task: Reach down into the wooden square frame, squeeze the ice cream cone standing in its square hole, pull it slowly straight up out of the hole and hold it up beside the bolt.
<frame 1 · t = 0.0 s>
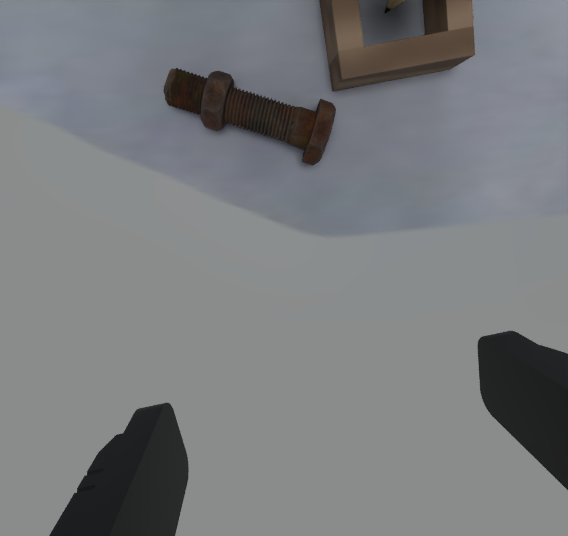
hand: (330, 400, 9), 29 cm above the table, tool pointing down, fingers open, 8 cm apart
bolt: (250, 115, 35), on the table
wooden square frame: (384, 11, 33), on the table
ice cream cone: (383, 12, 34), resting in wooden square frame
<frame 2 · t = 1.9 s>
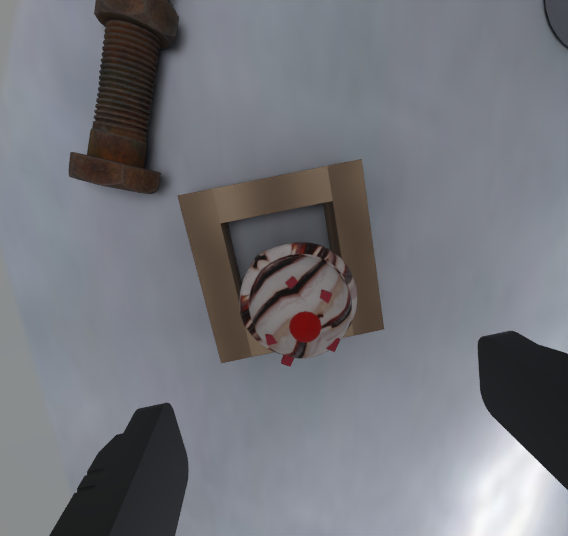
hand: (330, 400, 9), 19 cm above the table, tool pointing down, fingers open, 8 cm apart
bolt: (144, 79, 25), on the table
wooden square frame: (283, 255, 28), on the table
ice cream cone: (283, 254, 28), resting in wooden square frame
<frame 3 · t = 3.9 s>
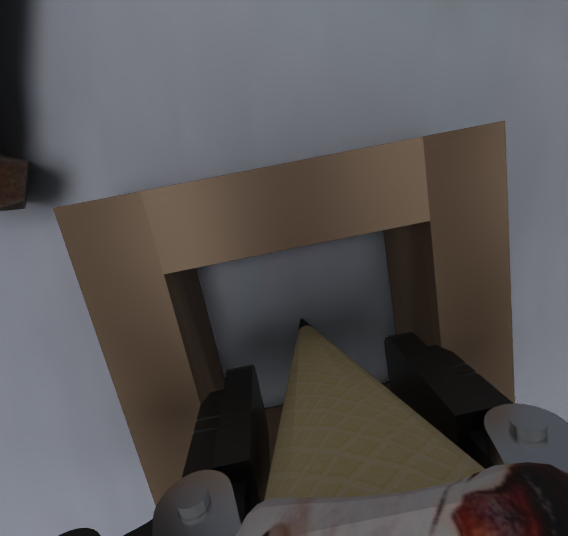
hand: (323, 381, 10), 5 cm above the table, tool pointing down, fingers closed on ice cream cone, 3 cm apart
wooden square frame: (303, 318, 14), on the table
ice cream cone: (302, 316, 15), resting in wooden square frame, touching gripper
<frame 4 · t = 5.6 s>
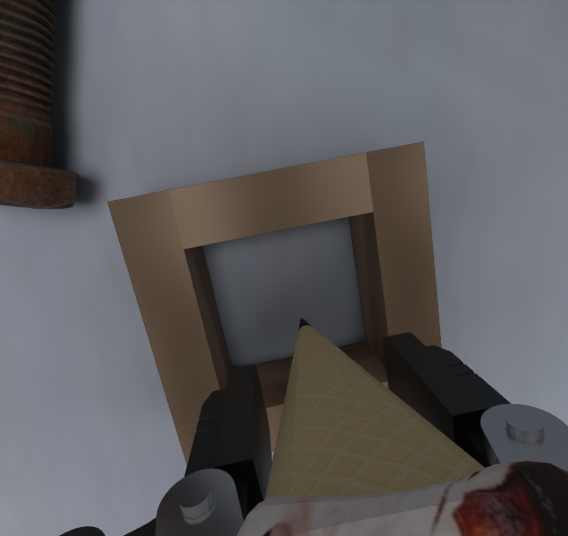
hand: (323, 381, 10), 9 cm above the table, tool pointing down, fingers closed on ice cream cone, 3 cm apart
bolt: (47, 23, 15), on the table
wooden square frame: (287, 291, 18), on the table
ice cream cone: (302, 316, 15), point 4 cm above the table, touching gripper
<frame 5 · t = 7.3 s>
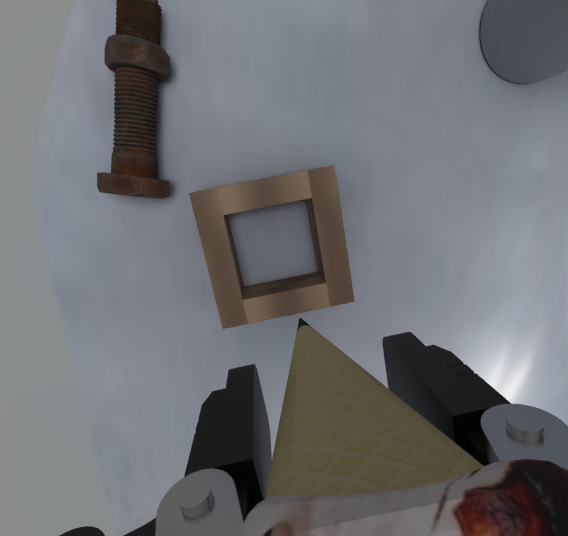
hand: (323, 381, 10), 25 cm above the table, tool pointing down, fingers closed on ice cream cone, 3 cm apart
bolt: (147, 108, 31), on the table
wooden square frame: (273, 242, 34), on the table
ice cream cone: (301, 316, 15), point 20 cm above the table, touching gripper
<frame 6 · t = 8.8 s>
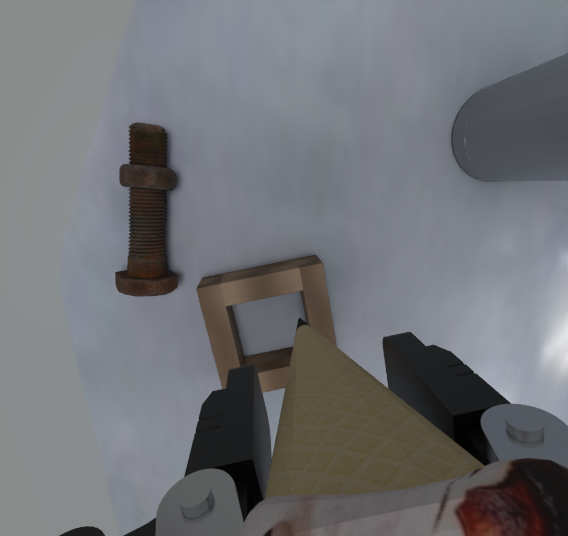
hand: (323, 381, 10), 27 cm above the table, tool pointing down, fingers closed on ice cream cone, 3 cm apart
bolt: (156, 209, 35), on the table
wooden square frame: (270, 319, 38), on the table
ice cream cone: (300, 316, 15), point 22 cm above the table, touching gripper
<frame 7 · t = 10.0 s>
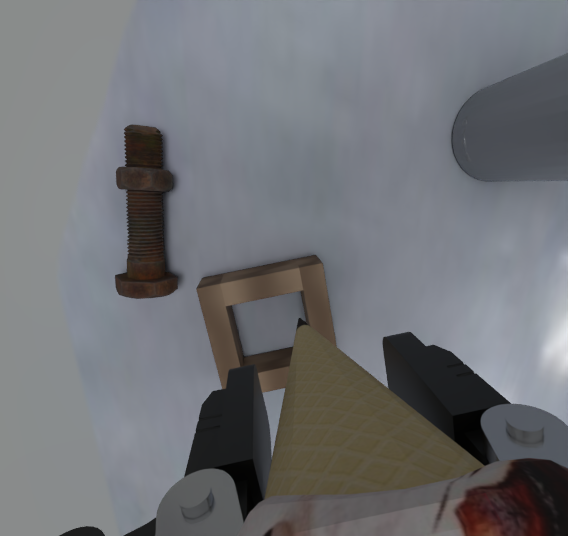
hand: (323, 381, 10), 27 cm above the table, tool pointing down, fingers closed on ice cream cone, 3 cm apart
bolt: (154, 211, 35), on the table
wooden square frame: (270, 319, 38), on the table
ice cream cone: (300, 316, 15), point 22 cm above the table, touching gripper
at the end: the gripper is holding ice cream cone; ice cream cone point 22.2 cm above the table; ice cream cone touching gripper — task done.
